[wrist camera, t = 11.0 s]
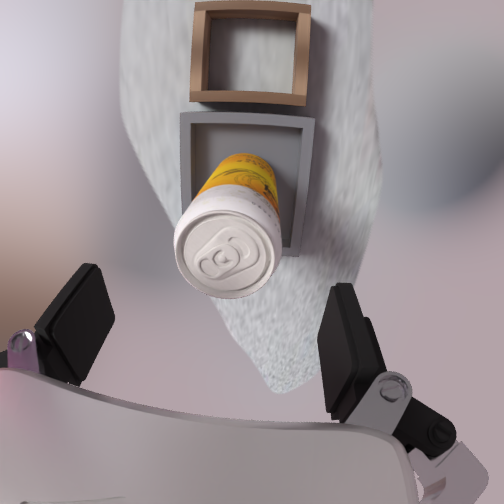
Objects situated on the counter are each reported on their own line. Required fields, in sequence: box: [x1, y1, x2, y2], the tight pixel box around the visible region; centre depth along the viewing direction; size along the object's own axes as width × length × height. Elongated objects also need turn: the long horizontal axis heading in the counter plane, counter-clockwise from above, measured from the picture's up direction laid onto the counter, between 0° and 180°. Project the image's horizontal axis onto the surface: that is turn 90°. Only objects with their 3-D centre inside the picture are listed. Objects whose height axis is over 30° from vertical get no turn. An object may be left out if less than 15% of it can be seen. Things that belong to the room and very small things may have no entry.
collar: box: [189, 0, 311, 107], centre depth 21 cm, size 10×10×3 cm
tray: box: [180, 111, 315, 257], centre depth 27 cm, size 14×12×2 cm
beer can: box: [174, 153, 282, 299], centre depth 21 cm, size 6×6×15 cm
